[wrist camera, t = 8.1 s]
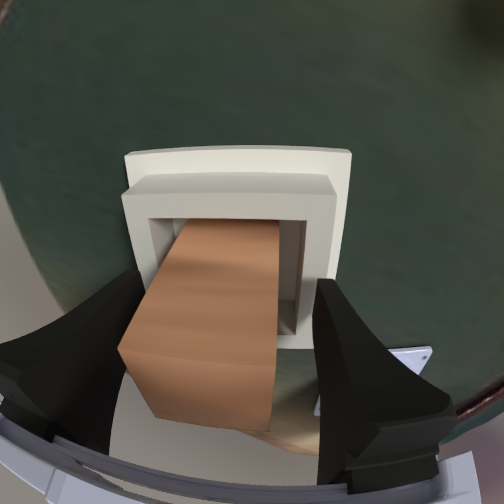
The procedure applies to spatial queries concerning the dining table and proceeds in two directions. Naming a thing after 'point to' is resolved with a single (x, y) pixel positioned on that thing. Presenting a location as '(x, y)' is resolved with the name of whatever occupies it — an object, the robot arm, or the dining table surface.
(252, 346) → the peg
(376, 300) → the dining table surface
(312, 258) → the socket
